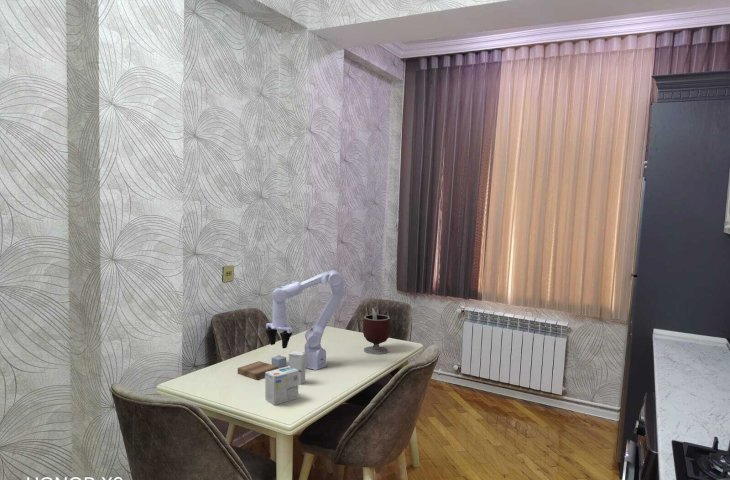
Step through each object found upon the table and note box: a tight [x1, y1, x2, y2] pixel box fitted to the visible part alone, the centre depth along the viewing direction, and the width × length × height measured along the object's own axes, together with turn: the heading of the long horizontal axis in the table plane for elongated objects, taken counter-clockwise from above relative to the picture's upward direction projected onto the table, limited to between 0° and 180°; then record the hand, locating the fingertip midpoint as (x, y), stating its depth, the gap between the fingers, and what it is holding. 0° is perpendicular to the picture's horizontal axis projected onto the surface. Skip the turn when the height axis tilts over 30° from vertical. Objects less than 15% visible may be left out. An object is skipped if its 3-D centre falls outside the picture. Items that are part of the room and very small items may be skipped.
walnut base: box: [237, 360, 278, 381], centre depth 202 cm, size 12×12×3 cm
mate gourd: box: [362, 307, 391, 356], centre depth 239 cm, size 16×14×20 cm
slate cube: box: [271, 355, 287, 369], centre depth 211 cm, size 4×4×4 cm
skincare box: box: [288, 350, 307, 385], centre depth 193 cm, size 6×4×12 cm
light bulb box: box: [264, 365, 299, 406], centre depth 175 cm, size 11×7×11 cm, turn 133°
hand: (278, 346), depth 210 cm, fingers open, 7 cm apart
